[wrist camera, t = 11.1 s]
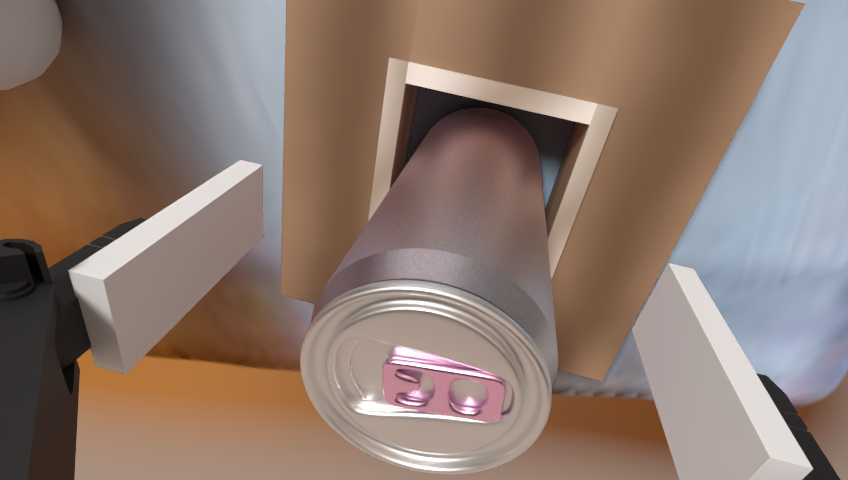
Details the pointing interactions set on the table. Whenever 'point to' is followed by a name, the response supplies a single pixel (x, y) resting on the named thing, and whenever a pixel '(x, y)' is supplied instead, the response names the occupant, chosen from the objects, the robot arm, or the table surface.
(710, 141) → the board
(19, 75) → the donut
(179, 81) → the table surface
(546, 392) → the beverage can
